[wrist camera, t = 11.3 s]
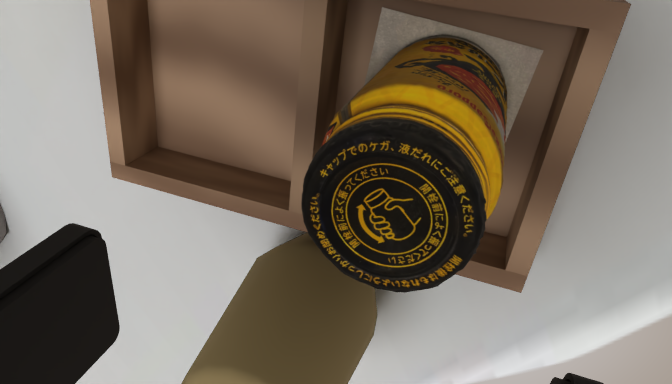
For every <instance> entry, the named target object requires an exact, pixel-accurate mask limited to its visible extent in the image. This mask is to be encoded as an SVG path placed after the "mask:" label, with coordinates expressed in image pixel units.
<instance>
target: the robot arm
mask: <svg viewBox="0 0 672 384" xmlns="http://www.w3.org/2000/svg"><path fill="white" fill-rule="evenodd" d="M118 334H119V320H118V314H117V308H116V302H115V296H114V290H113V284H112V278H111V272H110V266H109V260H108V253H107V247H106V243H105V241H104V240H103V239H102V237H101V234H100V233H99V232H98V231H97V230H94V229H91V228H87V227H84V226H81V225H77V224H74V223H73V224H68V225H66V226H64V227H62V228H61V229H60V230H58V231H57V232H55V233H54V234H52V235H51V236H49V237H48V238H46V239H45V240H43V241H42V242H40V243H39V244H37V245H36V246H34V247H33V248H31V249H30V250H28V251H27V252H25V253H24V254H23V255H21V256H20V257H18V258H17V259H15V260H14V261H12V262H11V263H9V264H8V265H6V266H5V267H3V268H2V269H0V384H75V383H76V382H77V381H78V380H79V379H80V378H81V377H82V376H83V375H84V374H85V373H86V372H87V370H88V369H89V368H90V367H91V366H92V365H93V364H94V363H95V362H96V361H97V360H98V359H99V358H100V357H101V356H102V355H103V354H104V353H105V352H106V351H107V349H108V348H109V347H110V346H111V345H112V344H113V343H114V342H115V340H116V338H117V336H118ZM550 384H603V383H601V382H598V381H595V380H591V379H588V378H584V377H581V376H578V375H575V374H571V373H567V374H566V375H565V377H564V378H563V379H559V378H556V377H554V378H553V379H552V381H551V383H550Z"/></svg>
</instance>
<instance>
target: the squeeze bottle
mask: <svg viewBox="0 0 672 384" xmlns="http://www.w3.org/2000/svg"><path fill="white" fill-rule="evenodd" d="M376 319H377V306H376V296H375V288H374V287H372V286H369V285H367V284H365V283H361V282H359V281H357V280H355V279H353V278H351V277H349V276H347V275H345V274H343V273H342V272H341V271H340V270H339V269H338V268H337V267H336V266H334V264H333V263H332V262H331V261H330V260H329V259H327V258H326V257H325V255H324V254H323V253H322V252H321V250H320V249H319V248H318V247H317V245H316V244H315V243H314V241H313V240H312V238H311V237H310V236H309V234H308V232H307V233H305V234H303V235H301V236H299V237H297V238H294V239H292V240H290V241H288V242H286V243H284V244H282V245H279V246H277V247H275V248H274V249H272V250H270V251H268V252H267V253H265V254H263V255H262V256H260V257H258V258H257V259H256V261H255V263H254V264H253V266H252V268H251V269H250V271H249V273H248V274H247V276H246V277H245V279H244V281H243V282H242V284H241V286H240V287H239V289H238V291H237V292H236V294H235V296H234V297H233V299H232V300H231V302H230V304H229V305H228V307H227V309H226V310H225V312H224V314H223V315H222V317H221V319H220V320H219V322H218V323H217V325H216V327H215V328H214V330H213V332H212V333H211V335H210V337H209V338H208V340H207V342H206V343H205V345H204V346H203V348H202V350H201V351H200V353H199V355H198V356H197V358H196V360H195V361H194V363H193V365H192V366H191V368H190V369H189V371H188V373H187V375H186V376H185V378H184V380H183V382H182V384H348V382H349V380H350V378H351V376H352V375H353V373H354V371H355V369H356V367H357V365H358V363H359V361H360V360H361V358H362V356H363V354H364V352H365V350H366V348H367V346H368V345H369V343H370V341H371V339H372V337H373V335H374V330H375V325H376Z"/></svg>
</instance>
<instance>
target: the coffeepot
mask: <svg viewBox="0 0 672 384" xmlns="http://www.w3.org/2000/svg"><path fill="white" fill-rule="evenodd" d="M5 234H6V220H5V216H4V212H3V210H2V207H1V205H0V242H1V241H2V240H3V238H4V236H5Z"/></svg>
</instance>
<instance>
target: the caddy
mask: <svg viewBox="0 0 672 384" xmlns="http://www.w3.org/2000/svg"><path fill="white" fill-rule="evenodd" d="M90 5H91V13H92V21H93V29H94V37H95V45H96V53H97V61H98V69H99V77H100V85H101V93H102V100H103V108H104V116H105V124H106V132H107V140H108V148H109V156H110V164H111V172H112V177H114V178H117V179H121V180H124V181H128V182H131V183H135V184H138V185H142V186H145V187H149V188H153V189H156V190H160V191H163V192H167V193H170V194H174V195H177V196H181V197H184V198H188V199H191V200H195V201H198V202H202V203H206V204H209V205H213V206H216V207H220V208H223V209H227V210H230V211H234V212H237V213H241V214H244V215H248V216H252V217H255V218H259V219H262V220H266V221H269V222H273V223H276V224H280V225H283V226H287V227H290V228H294V229H297V230H301V231H305V232H308V231H307V229H306V226H305V224H304V222H303V214H302V208H301V201H302V192H303V183H304V177H305V175H306V172H307V170H308V167H309V165H310V163H311V161H312V159H313V158H314V156H315V154H316V153H317V151H318V150H319V149H320V147H321V146H322V143H323V140H324V137H325V135H326V133H327V131H328V127H329V125H330V123H331V122H332V121H333V119H334V116H335V115H336V113H337V112H339V111H340V110H341V109H342V108H343V107H344V105H346V104H347V103H348V102H349V101H350V100H351V98H353V97H354V96H355V95H356V93H357V92H358V91H359V90H360V89H362V87H363V86H364V84H365V79H366V75H367V71H368V67H369V63H370V58H371V54H372V50H373V45H374V41H375V36H376V32H377V28H378V23H379V19H380V14H381V10H382V7H384V8H387V9H391V10H395V11H398V12H402V13H406V14H409V15H413V16H417V17H422V18H425V19H429V20H433V21H437V22H441V23H444V24H448V25H452V26H456V27H459V28H463V29H467V30H471V31H475V32H478V33H482V34H486V35H489V36H493V37H497V38H500V39H503V40H507V41H511V42H515V43H518V44H522V45H525V46H529V47H533V48H536V49H540V50H544V51H543V53H542V55H541V58H540V60H539V62H538V65H537V67H536V69H535V72H534V74H533V77H532V79H531V82H530V84H529V86H528V89H527V91H526V94H525V96H524V99H523V101H522V103H521V106H520V108H519V111H518V113H517V116H516V118H515V120H514V123H513V125H512V128H511V130H510V133H509V135H508V138H507V140H506V143H505V156H504V167H503V180H504V181H503V185H502V189H501V192H500V196H499V199H498V201H497V204H496V206H495V209H494V211H493V212H492V214H491V216H490V217H489V218H488V219H487V220H486V222H485V231H484V235H483V237H482V238H481V239H480V244H479V246H478V248H477V249H476V254H473V256H472V258H471V259H470V261H469V262H468V263H467V265H466V266H465V267H464V269H462V270H460V271H459V272H457V273H456V275H460V276H464V277H467V278H471V279H474V280H478V281H481V282H485V283H488V284H492V285H495V286H499V287H502V288H506V289H510V290H513V291H517V292H520V293H521V292H522V289H523V286H524V284H525V281H526V279H527V276H528V273H529V271H530V268H531V265H532V263H533V260H534V258H535V255H536V252H537V250H538V247H539V244H540V242H541V239H542V237H543V234H544V231H545V229H546V226H547V223H548V221H549V218H550V216H551V213H552V210H553V208H554V205H555V202H556V200H557V197H558V195H559V192H560V189H561V187H562V184H563V181H564V179H565V176H566V174H567V171H568V168H569V166H570V163H571V160H572V158H573V155H574V153H575V150H576V147H577V145H578V142H579V139H580V137H581V134H582V132H583V129H584V126H585V124H586V121H587V118H588V116H589V113H590V111H591V108H592V105H593V103H594V100H595V97H596V95H597V92H598V90H599V87H600V84H601V82H602V79H603V76H604V74H605V71H606V69H607V66H608V63H609V61H610V58H611V55H612V53H613V50H614V48H615V45H616V42H617V40H618V37H619V34H620V32H621V29H622V27H623V24H624V21H625V19H626V16H627V13H628V11H629V8H630V6H631V4H630V3H628V2H627V1H625V0H90Z"/></svg>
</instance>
